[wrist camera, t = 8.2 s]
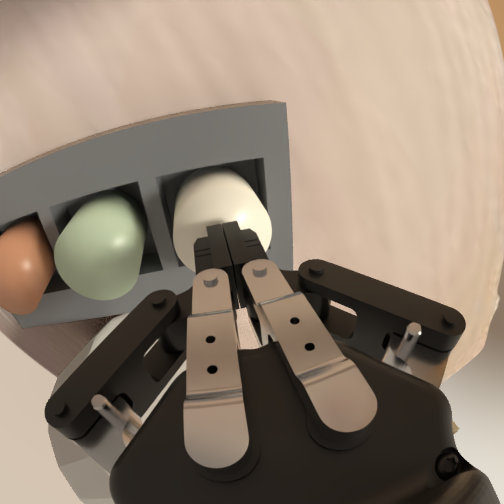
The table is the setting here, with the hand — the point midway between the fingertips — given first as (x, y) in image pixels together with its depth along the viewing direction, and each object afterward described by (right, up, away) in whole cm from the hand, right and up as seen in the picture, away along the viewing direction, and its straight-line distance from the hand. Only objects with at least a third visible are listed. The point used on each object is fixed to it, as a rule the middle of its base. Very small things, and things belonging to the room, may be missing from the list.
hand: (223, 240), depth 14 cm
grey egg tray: (-8, +2, +4) cm, 9 cm away
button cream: (-1, +2, +4) cm, 5 cm away
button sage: (-8, +1, +3) cm, 9 cm away
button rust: (-15, 0, +2) cm, 15 cm away
